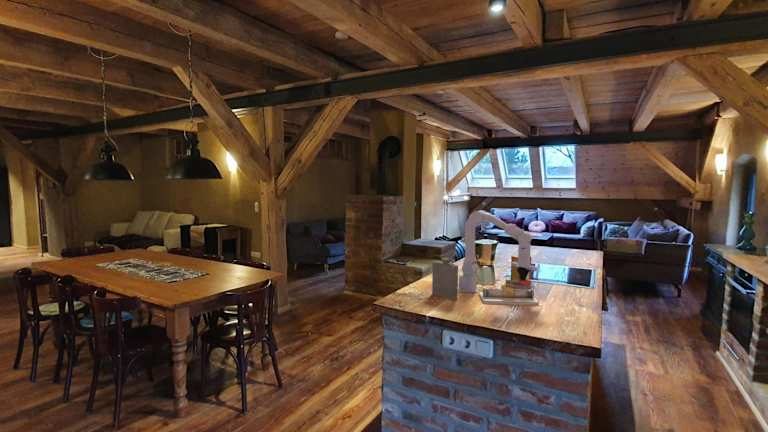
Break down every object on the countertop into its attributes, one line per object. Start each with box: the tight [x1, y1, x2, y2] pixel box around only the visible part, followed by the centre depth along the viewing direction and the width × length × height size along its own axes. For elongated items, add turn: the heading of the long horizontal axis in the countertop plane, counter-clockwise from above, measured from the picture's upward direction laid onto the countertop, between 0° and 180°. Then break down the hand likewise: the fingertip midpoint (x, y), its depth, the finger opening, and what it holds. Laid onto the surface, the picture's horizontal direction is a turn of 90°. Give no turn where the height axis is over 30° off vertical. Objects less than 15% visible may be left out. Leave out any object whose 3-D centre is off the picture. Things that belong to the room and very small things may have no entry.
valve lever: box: [505, 279, 532, 285], centre depth 192 cm, size 12×3×2 cm, turn 88°
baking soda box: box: [510, 254, 532, 286], centre depth 226 cm, size 10×6×16 cm
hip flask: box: [431, 257, 459, 302], centre depth 197 cm, size 16×4×20 cm, turn 40°
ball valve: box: [482, 282, 535, 299], centre depth 193 cm, size 24×6×7 cm, turn 85°
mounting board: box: [478, 291, 540, 306], centre depth 193 cm, size 26×14×2 cm, turn 85°
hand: (523, 282), depth 195 cm, fingers closed
